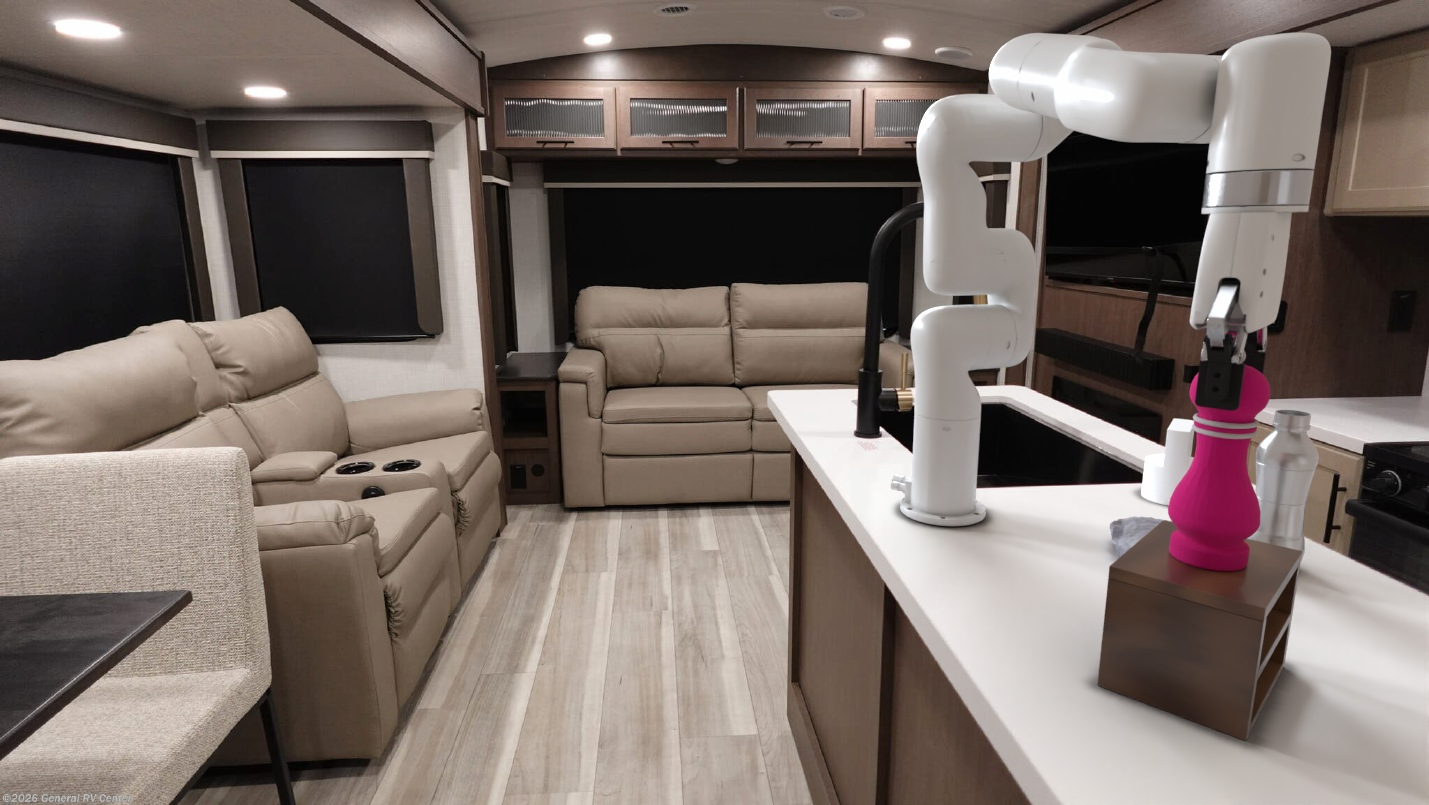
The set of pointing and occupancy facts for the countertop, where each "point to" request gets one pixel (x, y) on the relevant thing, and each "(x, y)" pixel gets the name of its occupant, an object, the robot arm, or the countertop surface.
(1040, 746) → the countertop surface
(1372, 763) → the countertop surface
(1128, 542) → the stone block
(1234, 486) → the pepper mill
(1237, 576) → the shelf
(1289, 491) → the silver metal bottle
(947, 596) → the countertop surface
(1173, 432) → the base with upright slab
